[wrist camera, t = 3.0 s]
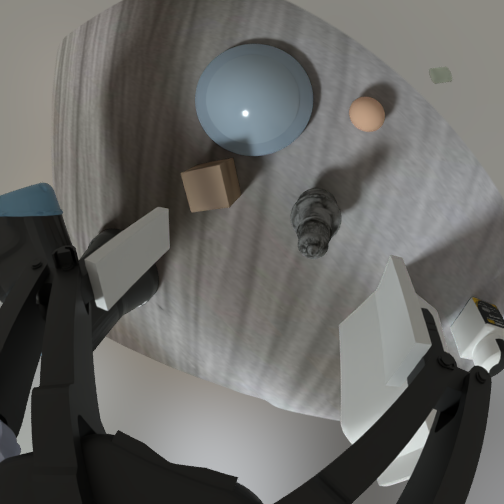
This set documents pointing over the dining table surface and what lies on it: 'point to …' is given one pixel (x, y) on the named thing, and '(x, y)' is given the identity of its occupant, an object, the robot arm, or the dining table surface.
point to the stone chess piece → (315, 222)
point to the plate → (254, 99)
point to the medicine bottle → (480, 335)
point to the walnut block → (211, 185)
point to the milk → (375, 385)
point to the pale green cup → (440, 75)
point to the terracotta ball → (367, 114)
